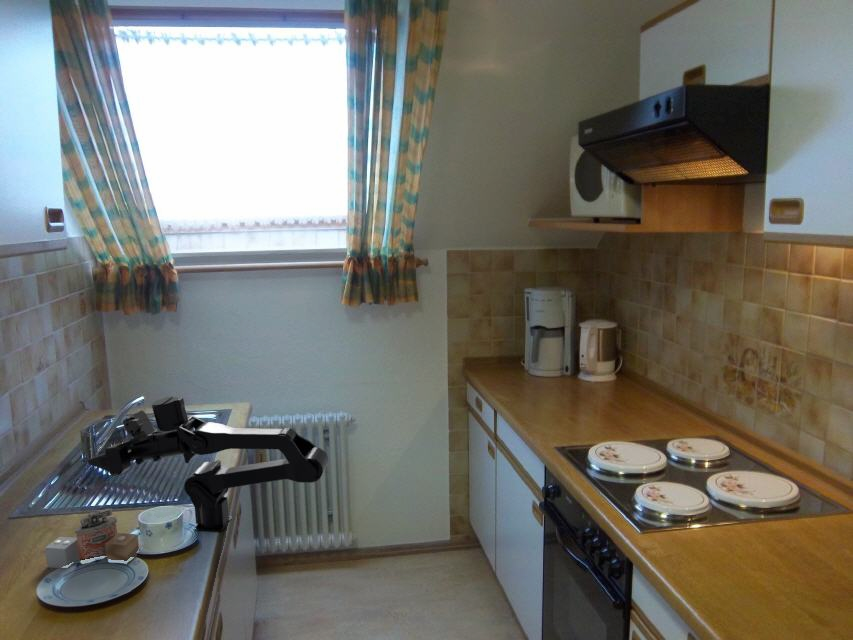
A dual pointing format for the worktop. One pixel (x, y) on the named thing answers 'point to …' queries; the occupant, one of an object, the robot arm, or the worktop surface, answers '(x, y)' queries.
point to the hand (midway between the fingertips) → (100, 455)
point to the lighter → (95, 534)
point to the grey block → (62, 552)
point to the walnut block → (122, 546)
